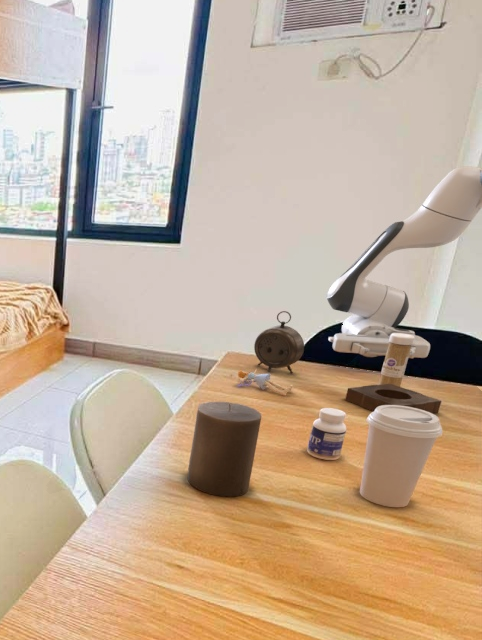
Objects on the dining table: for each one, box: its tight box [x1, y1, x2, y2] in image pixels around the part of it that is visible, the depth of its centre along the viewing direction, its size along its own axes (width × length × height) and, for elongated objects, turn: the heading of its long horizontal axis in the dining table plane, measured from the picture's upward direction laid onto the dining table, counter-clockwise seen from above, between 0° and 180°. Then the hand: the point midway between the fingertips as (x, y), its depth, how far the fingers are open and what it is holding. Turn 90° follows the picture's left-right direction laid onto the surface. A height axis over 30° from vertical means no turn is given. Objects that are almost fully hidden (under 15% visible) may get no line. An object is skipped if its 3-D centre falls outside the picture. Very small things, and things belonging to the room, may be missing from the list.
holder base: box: [344, 384, 442, 415], centre depth 141 cm, size 12×12×3 cm
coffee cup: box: [359, 405, 443, 508], centre depth 101 cm, size 10×10×15 cm
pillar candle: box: [187, 401, 262, 498], centre depth 107 cm, size 10×10×15 cm
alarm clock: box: [253, 310, 305, 375], centre depth 165 cm, size 11×5×16 cm, turn 34°
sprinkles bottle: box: [377, 333, 414, 387], centre depth 151 cm, size 5×5×13 cm
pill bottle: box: [306, 407, 347, 461], centre depth 118 cm, size 5×5×9 cm
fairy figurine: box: [237, 368, 293, 397], centre depth 154 cm, size 12×5×12 cm
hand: (387, 353), depth 156 cm, fingers open, 8 cm apart
